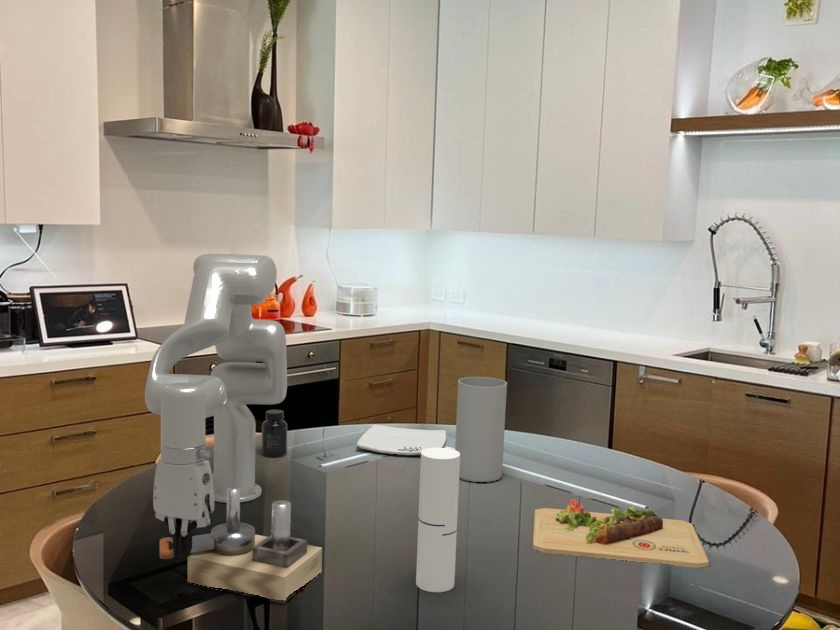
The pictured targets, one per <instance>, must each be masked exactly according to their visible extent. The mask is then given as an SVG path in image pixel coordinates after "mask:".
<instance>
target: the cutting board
mask: <svg viewBox="0 0 840 630" xmlns="http://www.w3.org/2000/svg"><path fill="white" fill-rule="evenodd" d="M609 511H610V513H605V512H604V513H603V512H594V511H593V512H592V511H585V507H584V505H582V504H580V503H579V502H578V501H577V500H576V499H570V500H569V502H568V504H567V506H566V508H565V509H561V508H559V509H558V508H550V507H544V508H543V507H542V508H537V509H534V519H533V520H534V521H533V539H532V550H534V551H536V550H538V551H537V552H539V551H540V553H542V554H547V555H548V554H549V555H558V554H565V555H564V556H568V555H572V556H571V557H579V556H588V557H587V558H589V557H594V558H593V559H599V558H606V559H605V560H610V559H616V560H615V561H620V560H624V561H623V562H630V561H636V562H635V563H640V562H648V563H647V564H651V563H662V564H669V565H668V566H671V565H674V566H673V567H683V568H693V569H694V568H695V569H700V568H706V567H709V565H710V563H709V562H710V561H709V559H708V556H707V554H706V552H705V549H704V547H703V545H702V542H701V540H700V538H699V536H698V533H697V532H696V530H695V527H694V525H693V523H690V522H688V521H685V520H683V519H682V520H680V519H671V518H669V519H668V518H662V517H658V513H657V512H654V511H653V510H652V509H647V510H639V509H638V508H637V507H635V506H633V505H632V506H628V507H627V508H626V509H625V510H624V511H621V510H620V509H618V508H617V509H616V508H611V509H610V510H609ZM625 560H627V561H625Z"/></svg>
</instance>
